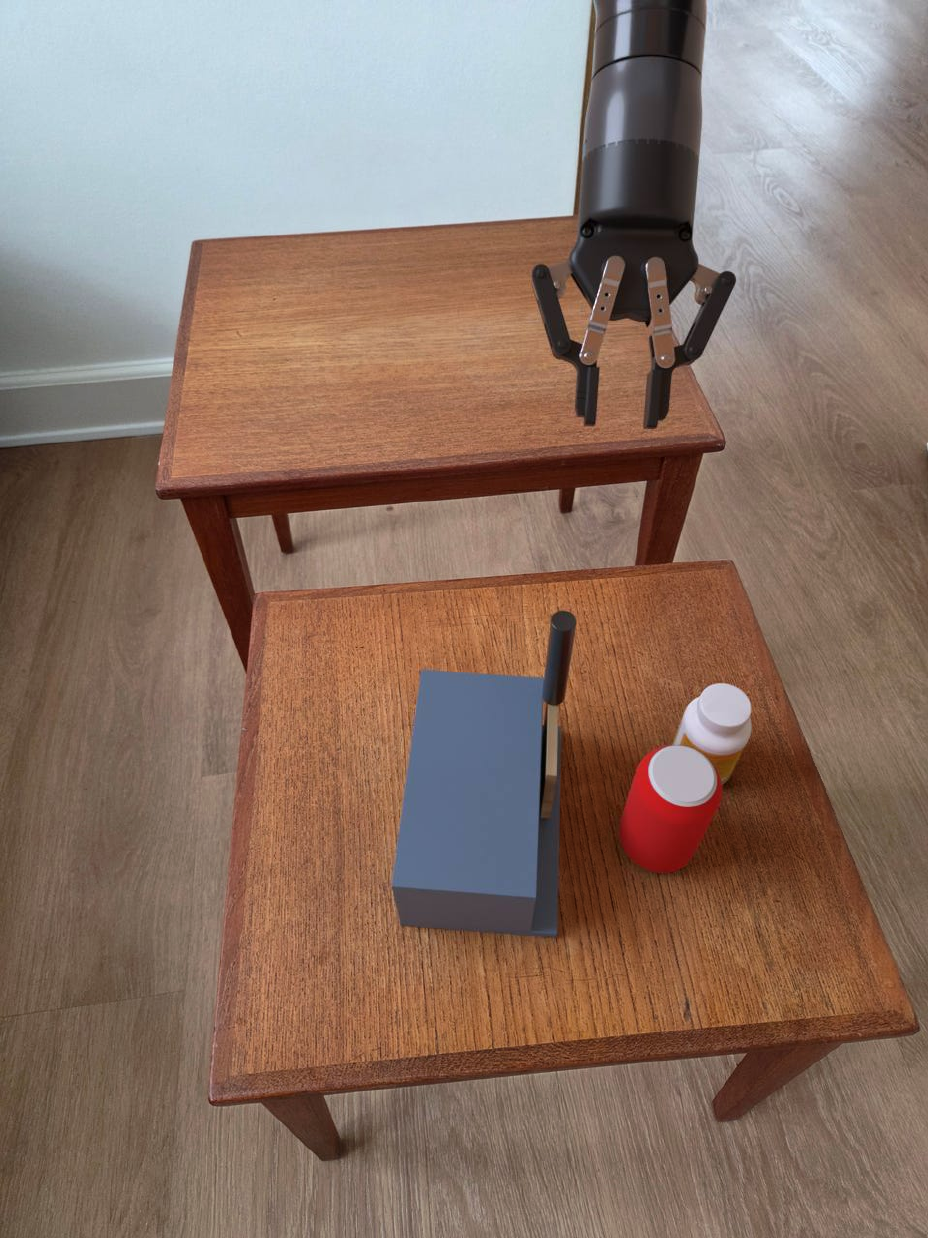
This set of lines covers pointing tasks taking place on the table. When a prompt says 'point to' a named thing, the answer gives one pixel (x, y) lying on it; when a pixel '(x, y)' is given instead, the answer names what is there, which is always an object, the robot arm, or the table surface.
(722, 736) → the supplement bottle
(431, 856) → the cabinet
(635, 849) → the beverage can
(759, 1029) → the table surface
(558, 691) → the brown flat handled piece
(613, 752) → the table surface
